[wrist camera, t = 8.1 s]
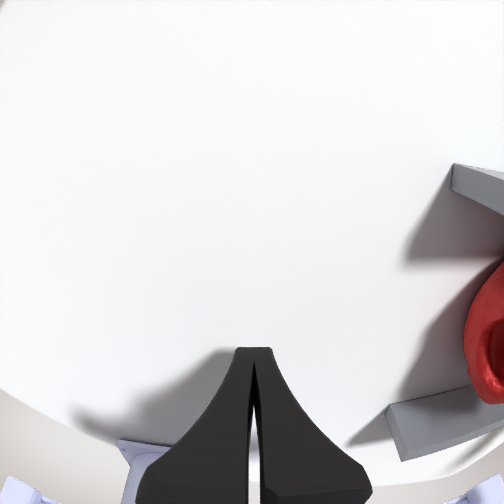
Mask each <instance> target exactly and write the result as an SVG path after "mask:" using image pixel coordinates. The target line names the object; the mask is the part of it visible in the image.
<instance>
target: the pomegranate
mask: <svg viewBox="0 0 504 504" xmlns="http://www.w3.org/2000/svg"><path fill="white" fill-rule="evenodd" d="M463 345H464V355H465V359H466V362H467V371H468V374H469V376H470V378H471V381H472V385H473V387H474V390H475V391H476V393H477V395H478V396H479V397H480V398H481V400H483V401H484V402H485V403H487V404H490V405H493V404H501V403H504V262H502V263H501V264H500V265H499V267H498V268H497V269H496V270H495V272H494V273H493V274H492V275H491V276H489V278H488V279H487V280H486V282H485V283H484V284H483V285H482V287H481V289H480V290H479V292H478V294H477V295H476V297H475V298H474V300H473V302H472V305H471V307H470V310H469V312H468V318H467V321H466V322H465V327H464V342H463Z"/></svg>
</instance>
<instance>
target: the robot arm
mask: <svg viewBox="0 0 504 504" xmlns="http://www.w3.org/2000/svg"><path fill="white" fill-rule="evenodd" d="M253 408H254V409H255V418H256V426H257V435H258V443H259V454H260V504H364V503H365V502H366V501H367V500H368V499H369V498H370V496H371V495H372V492H373V491H372V486H371V483H370V480H369V478H368V476H367V474H366V472H365V470H364V468H363V466H362V465H361V464H359V463H358V462H356V461H355V460H354V459H352V458H351V457H350V456H348V455H347V454H346V453H344V452H343V451H342V450H341V449H340V448H339V447H337V446H336V445H335V444H334V443H333V442H332V441H331V440H330V439H329V438H328V437H327V436H326V435H325V434H324V433H323V432H322V431H321V430H320V429H319V428H318V427H317V426H316V425H315V424H314V423H313V421H312V420H311V419H310V418H309V417H308V415H307V414H306V413H305V411H304V410H303V409H302V407H301V406H300V405H299V403H298V402H297V400H296V399H295V397H294V396H293V394H292V392H291V391H290V389H289V387H288V386H287V384H286V382H285V380H284V378H283V376H282V374H281V372H280V370H279V368H278V366H277V363H276V361H275V358H274V355H273V351H272V349H271V348H270V347H238V348H237V349H236V350H235V354H234V358H233V361H232V363H231V366H230V368H229V370H228V372H227V375H226V377H225V379H224V381H223V383H222V384H221V386H220V388H219V390H218V391H217V393H216V395H215V396H214V398H213V400H212V401H211V403H210V404H209V406H208V407H207V409H206V410H205V411H204V413H203V414H202V415H201V417H200V418H199V419H198V420H197V421H196V423H195V424H194V425H193V426H192V427H191V429H190V430H189V431H188V432H187V433H186V434H185V435H184V436H183V437H182V438H181V439H180V440H179V441H178V442H177V443H176V444H175V445H174V446H172V447H165V446H157V445H150V444H143V443H137V442H131V441H125V440H118V441H117V443H116V445H117V447H118V448H119V450H120V451H121V453H122V455H123V456H124V458H125V459H126V461H127V462H128V464H129V465H130V471H129V474H128V478H127V482H126V485H125V489H124V493H123V498H122V501H121V504H248V483H249V445H250V436H251V427H252V418H253ZM0 504H62V503H59V502H57V501H54V500H52V499H49V498H47V497H45V496H42V495H41V494H40V492H38V491H37V490H36V489H35V488H33V487H32V486H30V485H28V484H26V483H24V482H22V481H20V480H18V479H16V478H14V477H12V476H8V478H7V480H6V482H5V484H4V487H3V489H2V491H1V494H0ZM442 504H504V483H503V480H502V478H501V476H500V474H499V473H498V474H495V475H493V476H492V477H490V478H488V479H486V480H484V481H482V482H480V483H478V484H476V485H475V486H473V487H472V488H471V489H470V490H469V491H467V493H466V494H464V495H462V496H459V497H457V498H454V499H452V500H450V501H447V502H445V503H442Z"/></svg>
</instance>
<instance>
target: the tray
mask: <svg viewBox="0 0 504 504" xmlns="http://www.w3.org/2000/svg"><path fill="white" fill-rule="evenodd" d="M451 190H452V191H455V192H457V193H459V194H461V195H463V196H466V197H468V198H470V199H472V200H474V201H476V202H478V203H480V204H482V205H484V206H486V207H488V208H490V209H492V210H494V211H496V212H498V213H500V214H502V215H504V173H502V172H498V171H493V170H488V169H483V168H478V167H472V166H467V165H461V164H455V163H454V166H453V176H452V184H451ZM385 417H386V420H387V422H388V425H389V428H390V431H391V433H392V436H393V439H394V442H395V445H396V448H397V451H398V454H399V457H400V460H401V462H403V461H407V460H410V459H414V458H418V457H421V456H425V455H428V454H431V453H435V452H438V451H441V450H444V449H447V448H450V447H453V446H455V445H458V444H461V443H464V442H466V441H469V440H471V439H474V438H476V437H479V436H481V435H484V434H486V433H488V432H491V431H493V430H495V429H497V428H500V427H502V426H504V403H501V404H493V405H490V404H487V403H485V402H484V401H483V400H481V398H480V397H479V396H478V395H477V393H476V391H475V390H474V387H473V385H470V386H467V387H464V388H460V389H456V390H453V391H449V392H445V393H441V394H437V395H433V396H428V397H424V398H419V399H415V400H410V401H405V402H399V403H394V404H390V405H389V407H388V409H387V412H386V414H385Z"/></svg>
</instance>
